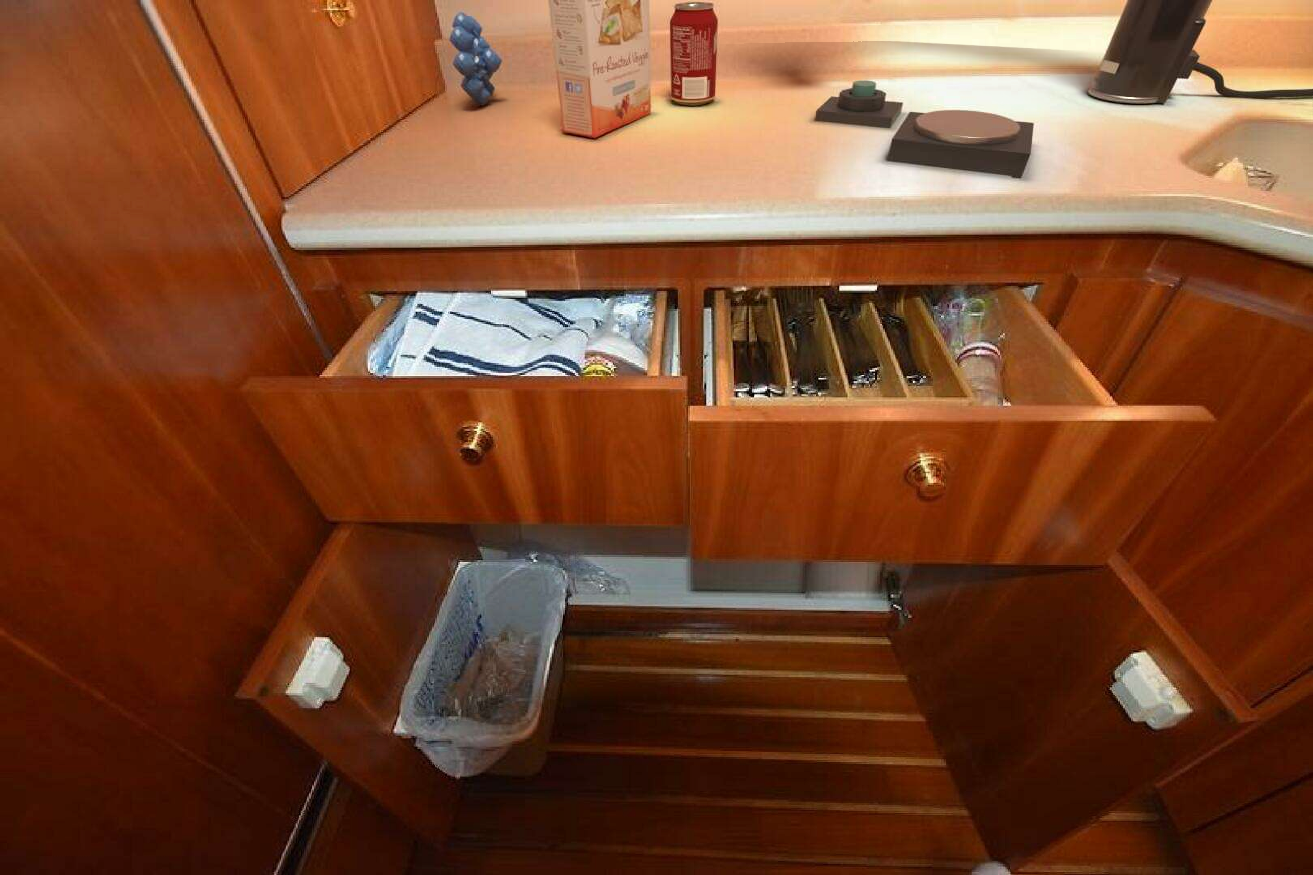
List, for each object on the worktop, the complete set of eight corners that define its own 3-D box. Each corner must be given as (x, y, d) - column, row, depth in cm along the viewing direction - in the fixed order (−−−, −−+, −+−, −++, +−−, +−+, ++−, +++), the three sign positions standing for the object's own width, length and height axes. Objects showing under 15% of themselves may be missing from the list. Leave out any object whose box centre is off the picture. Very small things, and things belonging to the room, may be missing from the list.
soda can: (711, 107, 86) (715, 7, 78) (666, 106, 87) (665, 8, 79) (717, 96, 91) (721, 1, 83) (675, 95, 92) (674, 1, 84)
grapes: (500, 115, 86) (481, 16, 78) (455, 116, 87) (432, 17, 79) (518, 95, 95) (503, 4, 87) (477, 96, 95) (458, 5, 87)
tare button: (875, 94, 79) (878, 81, 78) (871, 99, 77) (873, 86, 76) (853, 92, 80) (855, 79, 79) (848, 97, 78) (850, 84, 77)
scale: (1025, 145, 70) (1036, 115, 68) (1021, 178, 62) (1034, 145, 60) (904, 133, 75) (911, 104, 73) (886, 161, 67) (893, 130, 65)
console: (900, 113, 82) (906, 89, 80) (890, 129, 76) (895, 103, 74) (829, 107, 85) (833, 83, 83) (814, 121, 80) (818, 96, 78)
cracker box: (597, 140, 76) (579, -73, 62) (561, 134, 79) (535, -72, 64) (654, 114, 85) (650, -78, 71) (620, 109, 87) (609, -78, 73)
